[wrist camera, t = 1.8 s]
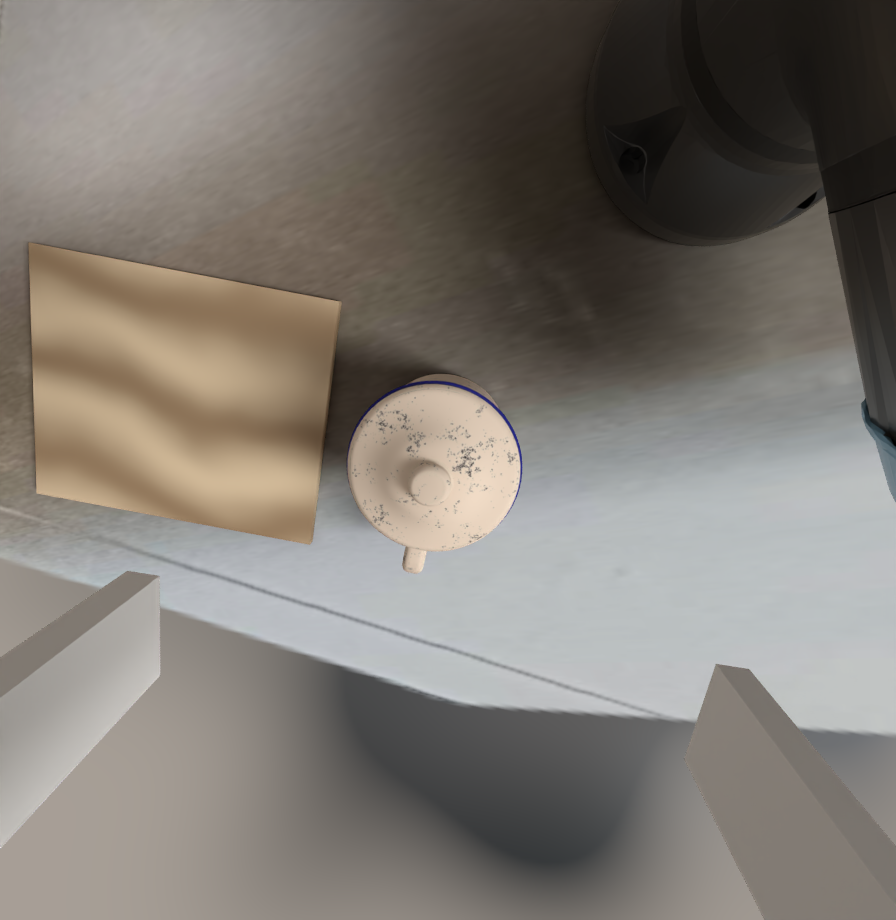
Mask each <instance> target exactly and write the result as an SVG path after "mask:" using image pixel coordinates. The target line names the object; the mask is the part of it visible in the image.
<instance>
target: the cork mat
mask: <svg viewBox="0 0 896 920" xmlns="http://www.w3.org/2000/svg"><path fill="white" fill-rule="evenodd" d="M28 243H29V242H28ZM29 273H30V304H31V334H32V365H33V395H34V425H35V456H36V486H37V493H38V494H43V495H49V496H54V497H59V498H65V499H70V500H75V501H81V502H86V503H91V504H97V505H102V506H107V507H113V508H118V509H123V510H129V511H134V512H139V513H145V514H150V515H155V516H160V517H166V518H171V519H176V520H182V521H187V522H192V523H198V524H203V525H208V526H214V527H219V528H224V529H230V530H235V531H240V532H246V533H251V534H256V535H262V536H267V537H272V538H277V539H283V540H288V541H293V542H299V543H304V544H309V545H310V544H311V542H312V540H313V532H314V524H315V516H316V508H317V499H318V491H319V483H320V475H321V467H322V458H323V450H324V442H325V434H326V426H327V418H328V409H329V401H330V393H331V385H332V377H333V368H334V360H335V352H336V344H337V336H338V328H339V319H340V311H341V303H342V302H339V301H334V300H329V299H323V298H318V297H313V296H308V295H302V294H297V293H292V292H287V291H281V290H276V289H271V288H266V287H260V286H255V285H250V284H245V283H239V282H234V281H229V280H224V279H218V278H213V277H208V276H203V275H197V274H192V273H187V272H182V271H176V270H171V269H166V268H161V267H155V266H150V265H145V264H140V263H134V262H129V261H124V260H119V259H113V258H108V257H103V256H98V255H92V254H87V253H82V252H76V251H71V250H66V249H61V248H55V247H50V246H45V245H40V244H34V243H29Z"/></svg>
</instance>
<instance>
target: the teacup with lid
mask: <svg viewBox="0 0 896 920" xmlns="http://www.w3.org/2000/svg"><path fill="white" fill-rule="evenodd" d="M347 475H348V481H349V485H350V489H351V492H352V494H353V497H354V499H355V502H356V504H357V505H358V507H359V509H360V511H361V512H362V514H363V515H364V516H365V518H366V519H367V520H368V521H369V522H370V523H371V524H372V526H373V527H375V528H376V529H377V530H378V531H379V532H380V533H382V534H383V535H385V536H386V537H388V538H389V539H391V540H393V541H395V542H397V543H399V544H401V545H404V546H406V548H405V552H404V557H403V563H402V566H403V569H404V570H405V571H406V572H410V573H414V574H417V573H420V572H421V571H422V569H423V566H424V561H425V557H426V553H427V551H448V550H454V549H458V548H461V547H465V546H467V545H470V544H472V543H474V542H476V541H478V540H480V539H481V538H483V537H485V536H486V535H487V534H489V533H490V532H491V531H492V530H494V529H495V528H496V527H497V526H498V525H499V524H500V523H501V522H502V520H503V519H504V518H505V517H506V515H507V514H508V513H509V511H510V509H511V508H512V506H513V504H514V502H515V500H516V497H517V494H518V491H519V488H520V484H521V478H522V456H521V450H520V446H519V443H518V439H517V437H516V434H515V432H514V430H513V428H512V426H511V424H510V423H509V421H508V420H507V418H506V417H505V415H504V414H503V413H502V412H501V411H500V410H499V408H498V406H497V404H496V403H495V401H494V400H493V398H492V397H491V396H490V395H489V394H488V393H487V392H486V391H485V390H484V389H483V388H481V387H480V386H479V385H477V384H476V383H474V382H472V381H470V380H468V379H466V378H463V377H460V376H456V375H451V374H433V375H427V376H423V377H420V378H418V379H415V380H413V381H411V382H410V383H408V384H406V385H404V386H401V387H398V388H396V389H394V390H392V391H390V392H388V393H387V394H385V395H384V396H382V397H381V398H379V399H378V400H377V401H376V402H375V403H374V404H372V405H371V406H370V407H369V409H368V410H367V411H366V412H365V413H364V415H363V416H362V417H361V419H360V420H359V422H358V424H357V425H356V427H355V429H354V432H353V434H352V437H351V440H350V443H349V447H348V453H347Z"/></svg>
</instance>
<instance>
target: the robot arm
mask: <svg viewBox="0 0 896 920" xmlns="http://www.w3.org/2000/svg"><path fill="white" fill-rule="evenodd" d="M586 131H587V138H588V145H589V149H590V154H591V157H592V161H593V164H594V167H595V169H596V172H597V174H598V176H599V179H600V181H601V183H602V185H603V186H604V188H605V190H606V192H607V193H608V195H609V196H610V198H611V199H612V200H613V202H614V203H615V204H616V206H617V207H618V208H619V209H620V210H621V211H622V212H623V213H624V214H625V215H626V216H627V217H628V218H629V219H630V220H631V221H633V222H634V223H635V224H637V225H638V226H639V227H641V228H642V229H644V230H646V231H647V232H649V233H651V234H653V235H655V236H657V237H660V238H662V239H665V240H668V241H671V242H674V243H679V244H684V245H690V246H716V245H724V244H730V243H734V242H738V241H741V240H744V239H747V238H750V237H753V236H756V235H759V234H761V233H764V232H767V231H769V230H772V229H774V228H777V227H779V226H781V225H783V224H785V223H787V222H789V221H791V220H792V219H794V218H796V217H797V216H799V215H801V214H802V213H804V212H805V211H807V210H808V209H810V208H811V207H813V206H814V205H815V204H816V203H818V202H819V201H820V200H822V199H823V198H824V197H825V196H826V201H827V206H828V212H829V213H828V215H829V220H830V225H831V230H832V235H833V240H834V245H835V250H836V255H837V260H838V264H839V269H840V274H841V279H842V284H843V289H844V294H845V299H846V304H847V309H848V314H849V319H850V323H851V328H852V333H853V338H854V343H855V348H856V353H857V358H858V363H859V368H860V373H861V378H862V383H863V387H864V392H865V397H866V398H865V400H864V401H863V402H862V403H861V407H862V417H863V420H864V423H865V426H866V428H867V430H868V431H869V433H870V434H871V436H872V437H873V439H874V440H875V441H876V445H877V448H878V452H879V455H880V459H881V462H882V465H883V469H884V472H885V476H886V479H887V483H888V486H889V490H890V492H891V494H892V496H893V498H894V501H895V502H896V0H620V2H619V4H618V6H617V8H616V9H615V12H614V14H613V16H612V18H611V20H610V22H609V25H608V27H607V29H606V31H605V33H604V36H603V38H602V40H601V42H600V45H599V48H598V50H597V53H596V56H595V59H594V62H593V65H592V69H591V73H590V78H589V83H588V89H587V97H586ZM159 676H160V581H159V576H156V575H150V574H144V573H137V572H131V571H127V572H125V573H124V574H122V575H121V576H119V577H118V578H116V579H115V580H113V581H112V582H110V583H109V584H108V585H106V586H105V587H103V588H102V589H100V590H99V591H97V592H96V593H94V594H93V595H91V596H90V597H88V598H87V599H85V600H84V601H83V602H81V603H80V604H78V605H77V606H75V607H74V608H72V609H71V610H69V611H68V612H66V613H65V614H64V615H62V616H60V617H59V618H58V619H56V620H55V621H53V622H52V623H50V624H49V625H47V626H46V627H44V628H43V629H41V630H40V631H38V632H37V633H35V634H34V635H33V636H31V637H30V638H28V639H27V640H25V641H24V642H22V643H21V644H19V645H18V646H16V647H15V648H13V649H12V650H11V651H9V652H8V653H6V654H5V655H3V656H2V657H0V849H1V847H2V846H3V845H4V844H5V843H6V842H7V841H8V840H9V839H10V837H12V835H13V834H14V833H15V832H16V831H17V830H18V829H19V828H20V827H21V826H22V825H23V824H24V822H25V821H26V820H27V819H28V818H29V817H30V816H31V815H32V814H33V813H34V811H36V809H37V808H38V807H39V806H40V805H41V804H42V803H43V802H44V801H45V800H46V798H48V796H49V795H50V794H51V793H52V792H53V791H54V790H55V789H56V788H57V787H58V786H59V784H60V783H61V782H62V781H63V780H64V779H65V778H66V777H67V776H68V775H69V774H70V773H71V771H72V770H73V769H74V768H75V767H76V766H77V765H78V764H79V763H80V762H81V761H82V760H83V758H84V757H85V756H86V755H87V754H88V753H89V752H90V751H91V750H92V749H93V748H94V747H95V745H96V744H97V743H98V742H99V741H100V740H101V739H102V738H103V737H104V736H105V735H106V733H107V732H108V731H109V730H110V729H111V728H112V727H113V726H114V725H115V723H117V722H118V720H119V719H120V718H121V717H122V716H123V715H124V714H125V713H126V712H127V711H128V709H130V707H131V706H132V705H133V704H134V703H135V702H136V701H137V700H138V699H139V698H140V697H141V695H142V694H143V693H144V692H145V691H146V690H147V689H148V688H149V687H150V686H151V685H152V683H153V682H154V681H155V680H156V679H157V678H158V677H159ZM684 760H685V762H686V764H687V766H688V768H689V770H690V772H691V774H692V776H693V778H694V780H695V782H696V784H697V786H698V788H699V790H700V792H701V794H702V796H703V798H704V800H705V802H706V804H707V806H708V808H709V810H710V812H711V814H712V816H713V818H714V820H715V822H716V824H717V826H718V828H719V830H720V832H721V834H722V836H723V838H724V840H725V842H726V844H727V846H728V848H729V850H730V852H731V854H732V856H733V858H734V860H735V862H736V864H737V866H738V868H739V870H740V872H741V874H742V876H743V878H744V880H745V882H746V884H747V886H748V888H749V890H750V892H751V894H752V896H753V898H754V900H755V902H756V904H757V906H758V908H759V910H760V912H761V914H762V916H763V918H764V920H896V846H895V844H894V843H893V842H892V841H891V840H890V838H889V837H888V836H887V835H886V834H885V832H884V831H883V830H882V829H881V828H880V826H879V825H878V824H877V823H876V822H875V820H874V819H873V818H872V817H871V816H870V814H869V813H868V812H867V811H866V810H865V808H864V807H863V806H862V805H861V804H860V802H859V801H858V800H857V799H856V797H855V796H854V795H853V794H852V793H851V791H850V790H849V789H848V788H847V787H846V786H845V784H844V783H843V782H842V781H841V779H840V778H839V777H838V776H837V775H836V773H835V772H834V771H833V770H832V769H831V767H830V766H829V765H828V764H827V763H826V761H825V760H824V759H823V758H822V757H821V755H820V754H819V753H818V752H817V751H816V749H815V748H814V747H813V746H812V744H811V743H810V742H809V741H808V740H807V738H806V737H805V736H804V735H803V734H802V732H801V731H800V730H799V729H798V728H797V726H796V725H795V724H794V723H793V722H792V720H791V719H790V718H789V717H788V716H787V714H786V713H785V712H784V711H783V710H782V708H781V707H780V706H779V705H778V704H777V702H776V701H775V700H774V699H773V697H772V696H771V695H770V694H769V693H768V691H767V690H766V689H765V688H764V687H763V685H762V684H761V683H760V682H759V681H758V679H757V678H756V677H755V676H754V675H753V673H752V672H751V671H750V670H749V669H745V668H738V667H732V666H726V665H719V664H716V666H715V669H714V672H713V675H712V678H711V681H710V684H709V687H708V690H707V692H706V695H705V698H704V701H703V704H702V707H701V710H700V713H699V716H698V719H697V722H696V725H695V728H694V731H693V734H692V737H691V740H690V743H689V746H688V749H687V752H686V755H685V758H684Z"/></svg>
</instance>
